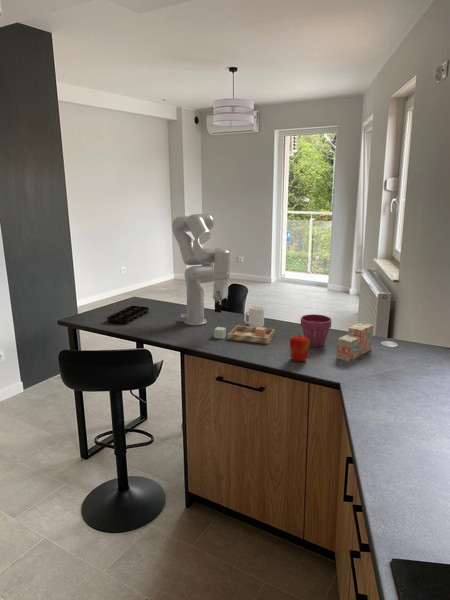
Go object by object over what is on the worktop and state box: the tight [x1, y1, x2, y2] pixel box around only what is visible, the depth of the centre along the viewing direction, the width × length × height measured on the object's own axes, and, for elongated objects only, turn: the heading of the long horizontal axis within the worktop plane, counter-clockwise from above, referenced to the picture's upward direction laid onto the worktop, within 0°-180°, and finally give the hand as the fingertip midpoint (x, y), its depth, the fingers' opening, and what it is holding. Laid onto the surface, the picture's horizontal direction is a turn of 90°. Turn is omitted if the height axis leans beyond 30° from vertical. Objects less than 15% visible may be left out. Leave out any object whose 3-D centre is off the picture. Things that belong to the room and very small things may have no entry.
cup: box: [243, 305, 265, 327], centre depth 231 cm, size 8×12×10 cm
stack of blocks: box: [336, 322, 374, 362], centre depth 190 cm, size 21×6×12 cm, turn 137°
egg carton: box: [106, 305, 150, 326], centre depth 245 cm, size 18×30×4 cm, turn 175°
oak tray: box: [227, 325, 276, 345], centre depth 213 cm, size 20×15×3 cm
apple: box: [289, 333, 310, 362], centre depth 182 cm, size 9×8×12 cm
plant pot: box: [300, 313, 332, 348], centre depth 203 cm, size 14×14×13 cm
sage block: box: [213, 326, 227, 340], centre depth 213 cm, size 4×4×4 cm
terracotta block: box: [255, 326, 267, 337], centre depth 211 cm, size 4×4×4 cm
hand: (221, 309), depth 210 cm, fingers open, 9 cm apart
